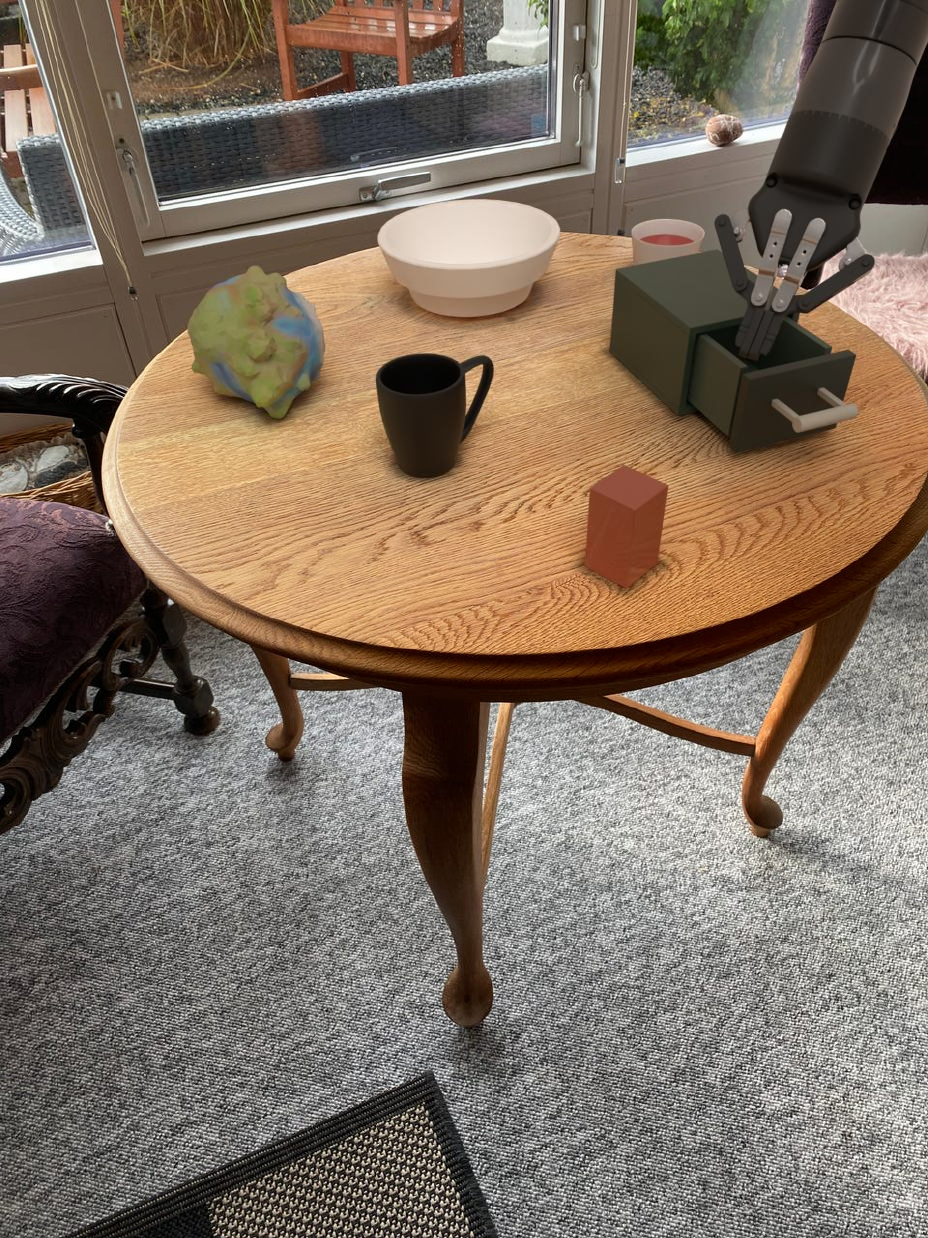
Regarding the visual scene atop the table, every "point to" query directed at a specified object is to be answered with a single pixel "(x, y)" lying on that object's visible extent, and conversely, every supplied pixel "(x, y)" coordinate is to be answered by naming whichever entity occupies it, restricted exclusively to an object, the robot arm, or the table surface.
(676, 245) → the candle
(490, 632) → the table surface
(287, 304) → the decorative rock
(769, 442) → the drawer
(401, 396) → the mug
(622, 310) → the cabinet
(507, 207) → the bowl
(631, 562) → the block
